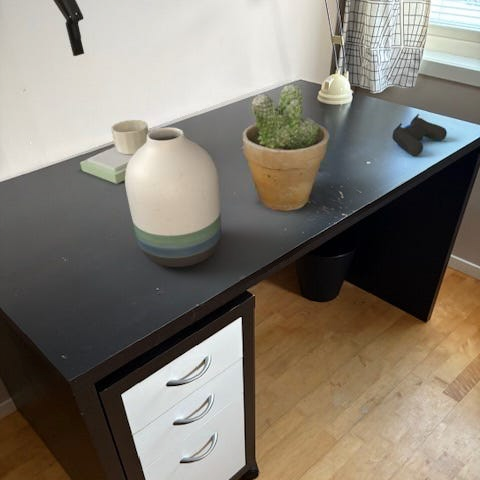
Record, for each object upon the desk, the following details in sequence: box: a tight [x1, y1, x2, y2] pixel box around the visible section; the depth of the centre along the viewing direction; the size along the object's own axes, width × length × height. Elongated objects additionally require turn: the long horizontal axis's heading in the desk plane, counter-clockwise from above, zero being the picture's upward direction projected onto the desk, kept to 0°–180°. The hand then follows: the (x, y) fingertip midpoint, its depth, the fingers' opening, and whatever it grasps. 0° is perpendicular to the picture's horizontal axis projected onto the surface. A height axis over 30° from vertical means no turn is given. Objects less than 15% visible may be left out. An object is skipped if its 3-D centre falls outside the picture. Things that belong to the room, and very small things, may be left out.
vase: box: [124, 126, 222, 268], centre depth 89 cm, size 17×17×24 cm
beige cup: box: [110, 119, 149, 154], centre depth 128 cm, size 9×9×6 cm
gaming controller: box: [392, 113, 448, 157], centre depth 131 cm, size 17×6×10 cm
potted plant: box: [242, 83, 330, 212], centre depth 104 cm, size 18×19×25 cm
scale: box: [79, 130, 152, 185], centre depth 131 cm, size 14×26×3 cm, turn 142°
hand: (61, 51), depth 117 cm, fingers open, 13 cm apart
